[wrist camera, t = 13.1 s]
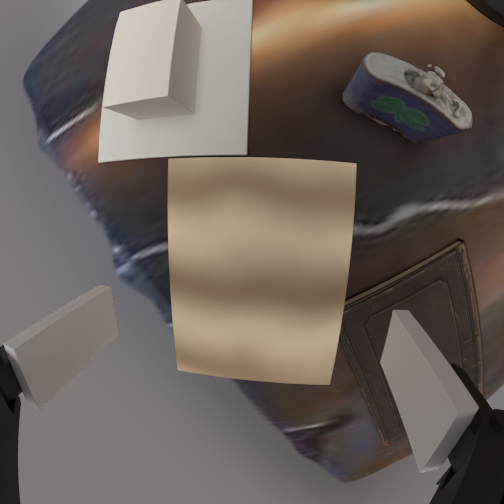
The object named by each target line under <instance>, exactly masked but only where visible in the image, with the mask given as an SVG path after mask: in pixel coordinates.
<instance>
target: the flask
mask: <svg viewBox="0 0 504 504" xmlns="http://www.w3.org/2000/svg"><path fill="white" fill-rule="evenodd" d="M427 66H428V67H431V66H432V65H430V64H428V65H427ZM434 68H435V71H436V72H438V73H439V74H440V75H441V76H442V77H444V76H445V73H444V72H443V71H442V70H441V69H440V68H439V67H437V66H435V67H434ZM442 82H443V80H442V79H441V78H440V77H439V76H437V75H436V73H435V72H432V71H429V72H428V73H427V72H425V71H424V70H421V69H419V68H418V67H416V66H413V65H411V64H410V63H407V62H405V61H402V60H399V59H397V58H395V57H392V56H390V55H386V54H383V53H379V52H370V53H368V54H367V55H366V56H365V57H364V58H363V60H362V62H361V64H360V65H359V67H358V69H357V71H356V72H355V74H354V76H353V78H352V79H351V81H350V82H349V84H348V86H347V87H346V89H345V90H344V92H343V96H342V98H343V103H344V104H345V105H346V106H347V107H349V108H350V109H351V110H353V111H355V112H356V113H358V114H360V113H362V114H364V115H366V116H369V117H370V118H372V120H374V121H376V122H377V123H379V124H381V125H386V126H391V127H392V128H393V131H399V132H400V133H402V135H403V136H404V137H406V138H408V139H409V140H411V141H412V142H414V143H421V142H425V141H428V140H431V139H439V138H441V137H443V136H447V135H451V134H458V133H462V132H466V131H470V130H471V127H472V121H473V118H472V113H471V111H470V109H469V108H468V106H467V105H466V104H465V103H464V102H463V101H462V100H461V99H459V98H458V97H457V96H456V95H455V93H454V92H452V91H451V90H450V89H449V88H448V87H447V86H445V85H444V84H443V83H444V82H443V83H442Z"/></svg>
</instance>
